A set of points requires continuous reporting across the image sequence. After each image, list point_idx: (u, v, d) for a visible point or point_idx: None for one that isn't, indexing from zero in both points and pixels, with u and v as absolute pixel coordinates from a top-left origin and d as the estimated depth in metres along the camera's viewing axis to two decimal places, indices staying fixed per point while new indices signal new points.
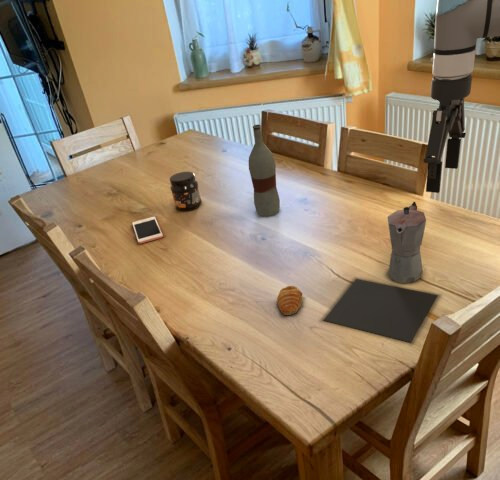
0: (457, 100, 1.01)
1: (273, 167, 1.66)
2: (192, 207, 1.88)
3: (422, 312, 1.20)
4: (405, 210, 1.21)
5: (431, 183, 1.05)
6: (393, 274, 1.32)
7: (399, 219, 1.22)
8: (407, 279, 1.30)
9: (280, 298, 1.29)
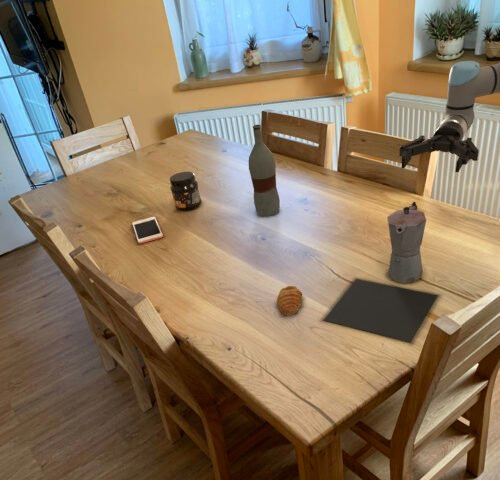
0: None
1: (273, 167, 1.66)
2: (192, 207, 1.88)
3: (422, 312, 1.20)
4: (405, 210, 1.21)
5: None
6: (393, 274, 1.32)
7: (399, 219, 1.22)
8: (407, 279, 1.30)
9: (280, 298, 1.29)
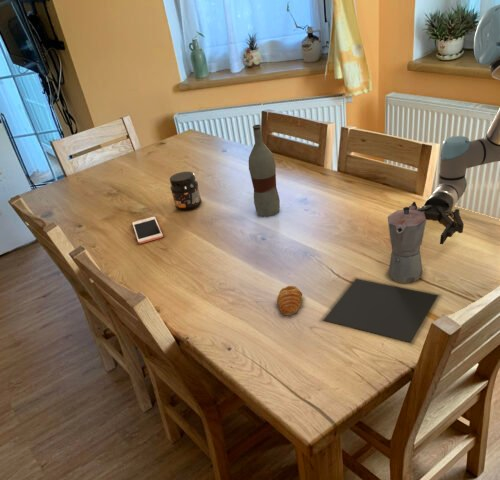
0: (441, 208, 1.44)
1: (273, 167, 1.66)
2: (192, 207, 1.88)
3: (422, 312, 1.20)
4: (405, 210, 1.21)
5: None
6: (393, 274, 1.32)
7: (399, 219, 1.22)
8: (407, 279, 1.30)
9: (280, 298, 1.29)
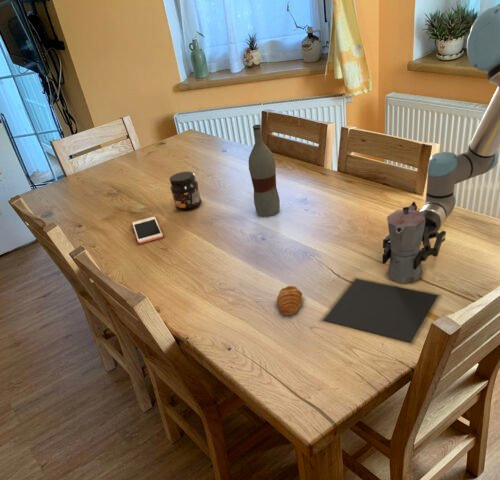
0: (429, 227, 1.37)
1: (273, 167, 1.66)
2: (192, 207, 1.88)
3: (422, 312, 1.20)
4: (404, 210, 1.22)
5: None
6: (393, 274, 1.32)
7: (399, 219, 1.22)
8: (406, 279, 1.31)
9: (280, 298, 1.29)
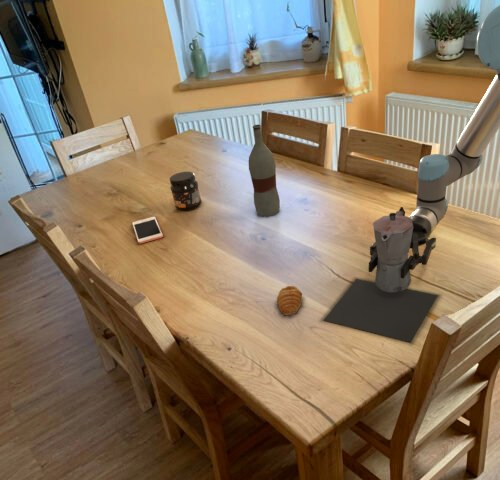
0: (419, 233, 1.30)
1: (273, 167, 1.66)
2: (192, 207, 1.88)
3: (422, 312, 1.20)
4: (391, 216, 1.15)
5: None
6: (380, 283, 1.25)
7: (385, 225, 1.16)
8: (394, 288, 1.24)
9: (280, 298, 1.29)
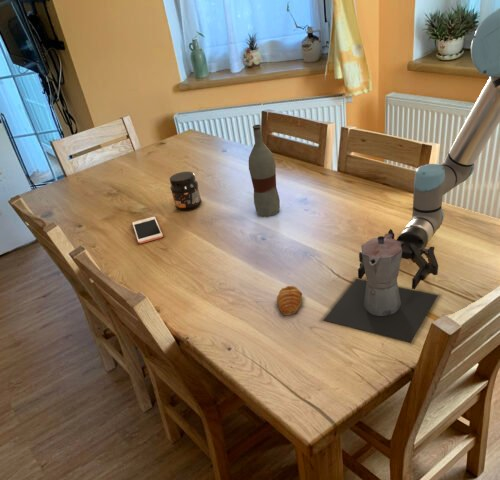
0: (414, 244, 1.29)
1: (273, 167, 1.66)
2: (192, 207, 1.88)
3: (422, 312, 1.20)
4: (379, 240, 1.12)
5: None
6: (369, 306, 1.22)
7: (373, 249, 1.12)
8: (383, 312, 1.21)
9: (280, 298, 1.29)
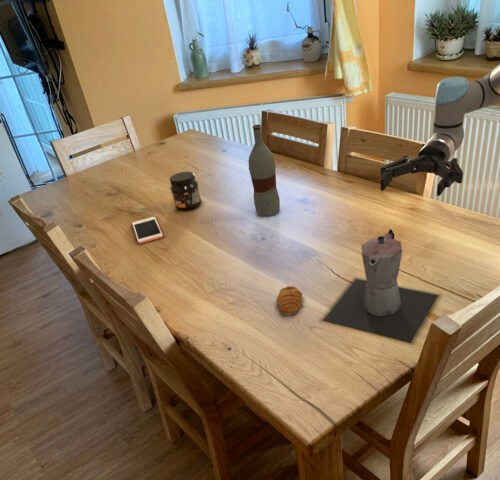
0: None
1: (273, 167, 1.66)
2: (192, 207, 1.88)
3: (422, 312, 1.20)
4: (379, 240, 1.12)
5: None
6: (369, 306, 1.22)
7: (373, 249, 1.12)
8: (383, 312, 1.21)
9: (280, 298, 1.29)
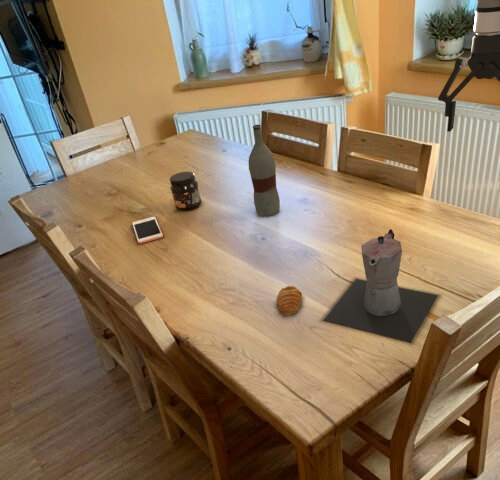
0: (495, 58, 1.11)
1: (273, 167, 1.66)
2: (192, 207, 1.88)
3: (422, 312, 1.20)
4: (379, 240, 1.12)
5: None
6: (369, 306, 1.22)
7: (373, 249, 1.12)
8: (383, 312, 1.21)
9: (280, 298, 1.29)
